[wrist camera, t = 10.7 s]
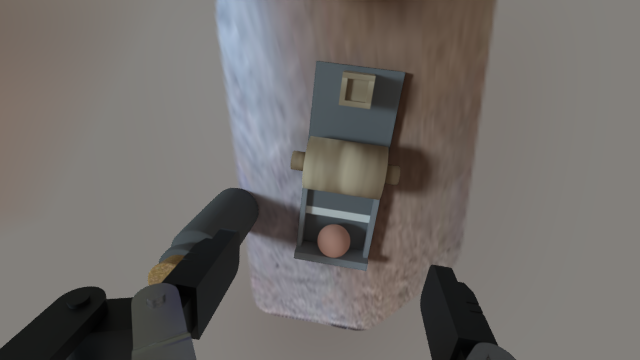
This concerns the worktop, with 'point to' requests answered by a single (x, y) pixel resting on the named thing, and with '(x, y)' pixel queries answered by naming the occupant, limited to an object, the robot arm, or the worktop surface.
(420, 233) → the worktop surface
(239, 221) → the bottle
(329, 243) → the ball
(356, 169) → the maple rolling pin
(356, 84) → the light wooden block
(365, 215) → the grey long tray
